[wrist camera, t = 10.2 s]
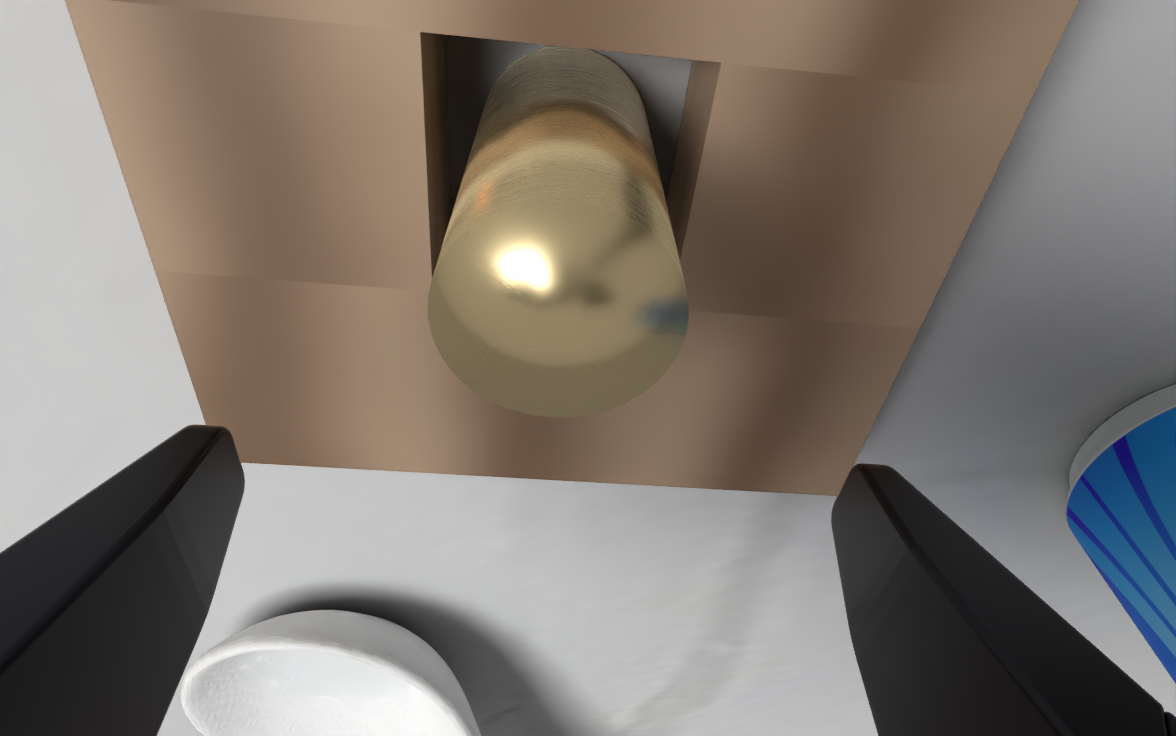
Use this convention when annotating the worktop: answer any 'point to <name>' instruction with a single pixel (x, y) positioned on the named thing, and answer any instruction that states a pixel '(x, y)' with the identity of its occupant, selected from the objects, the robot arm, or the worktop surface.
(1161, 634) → the beer can
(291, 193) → the walnut jig
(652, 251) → the brass sleeve
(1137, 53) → the worktop surface
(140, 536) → the robot arm
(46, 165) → the worktop surface
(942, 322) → the worktop surface
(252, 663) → the spoon rest
